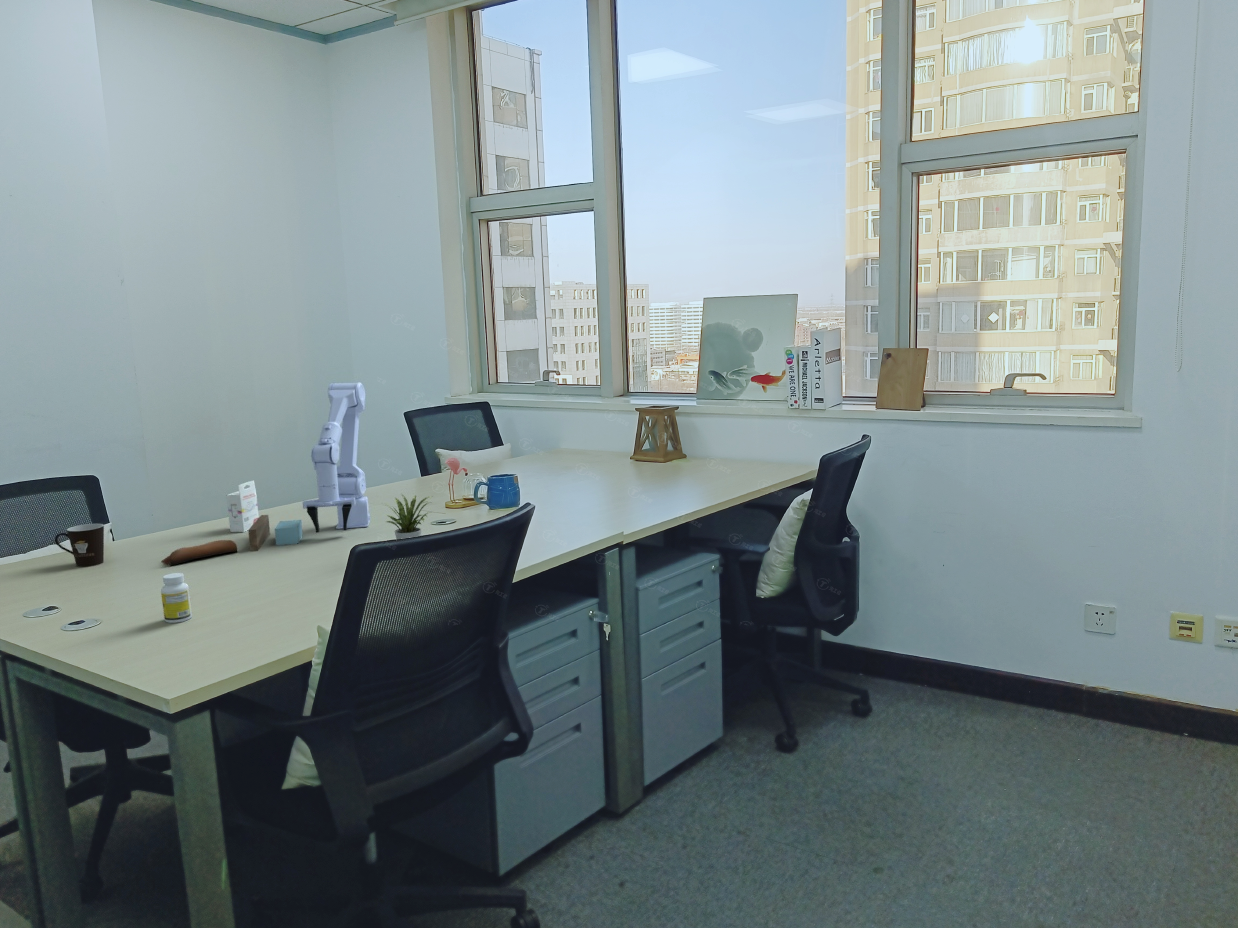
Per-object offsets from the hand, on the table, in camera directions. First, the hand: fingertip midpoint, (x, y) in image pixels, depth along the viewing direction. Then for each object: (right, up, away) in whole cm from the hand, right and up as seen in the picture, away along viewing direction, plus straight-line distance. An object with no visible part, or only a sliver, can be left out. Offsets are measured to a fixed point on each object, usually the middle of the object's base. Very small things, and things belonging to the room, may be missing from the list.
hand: (331, 530), depth 270 cm
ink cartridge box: (-31, -1, +14) cm, 34 cm away
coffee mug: (-60, -7, -21) cm, 64 cm away
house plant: (+29, -5, -20) cm, 36 cm away
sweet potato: (-30, -7, -18) cm, 36 cm away
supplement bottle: (-11, -14, -71) cm, 73 cm away
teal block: (-12, -3, -2) cm, 12 cm away
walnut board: (-19, -3, -3) cm, 20 cm away
